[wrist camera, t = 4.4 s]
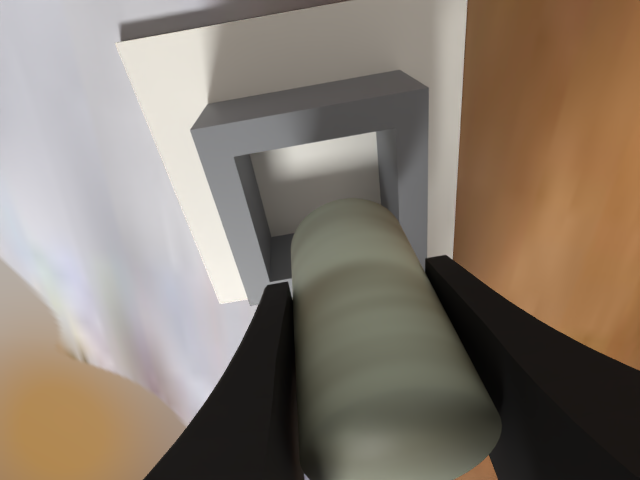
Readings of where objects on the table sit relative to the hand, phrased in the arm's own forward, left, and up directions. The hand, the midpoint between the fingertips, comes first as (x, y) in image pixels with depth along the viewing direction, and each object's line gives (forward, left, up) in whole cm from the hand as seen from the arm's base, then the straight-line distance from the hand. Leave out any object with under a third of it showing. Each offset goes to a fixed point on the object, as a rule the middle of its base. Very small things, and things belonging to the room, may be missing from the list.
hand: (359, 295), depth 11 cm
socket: (0, 0, -9) cm, 9 cm away
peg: (0, 0, -2) cm, 2 cm away
